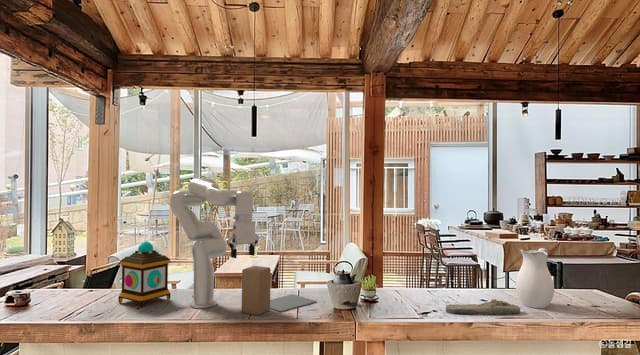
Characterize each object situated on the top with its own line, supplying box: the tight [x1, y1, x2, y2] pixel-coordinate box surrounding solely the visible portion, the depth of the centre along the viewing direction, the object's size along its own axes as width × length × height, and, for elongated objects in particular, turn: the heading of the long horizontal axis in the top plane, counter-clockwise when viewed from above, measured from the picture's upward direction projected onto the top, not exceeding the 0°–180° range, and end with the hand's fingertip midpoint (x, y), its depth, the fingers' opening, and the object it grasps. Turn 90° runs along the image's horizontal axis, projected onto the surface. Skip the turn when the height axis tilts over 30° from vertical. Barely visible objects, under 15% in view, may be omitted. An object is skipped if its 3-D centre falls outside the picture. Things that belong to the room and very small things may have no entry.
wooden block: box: [241, 265, 272, 316], centre depth 192 cm, size 10×10×20 cm
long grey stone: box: [445, 298, 521, 315], centre depth 194 cm, size 35×5×10 cm
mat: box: [270, 293, 318, 313], centre depth 205 cm, size 18×24×1 cm
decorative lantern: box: [117, 240, 171, 309], centre depth 206 cm, size 20×20×30 cm
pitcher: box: [515, 247, 555, 309], centre depth 209 cm, size 24×17×28 cm
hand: (242, 256), depth 186 cm, fingers open, 9 cm apart
